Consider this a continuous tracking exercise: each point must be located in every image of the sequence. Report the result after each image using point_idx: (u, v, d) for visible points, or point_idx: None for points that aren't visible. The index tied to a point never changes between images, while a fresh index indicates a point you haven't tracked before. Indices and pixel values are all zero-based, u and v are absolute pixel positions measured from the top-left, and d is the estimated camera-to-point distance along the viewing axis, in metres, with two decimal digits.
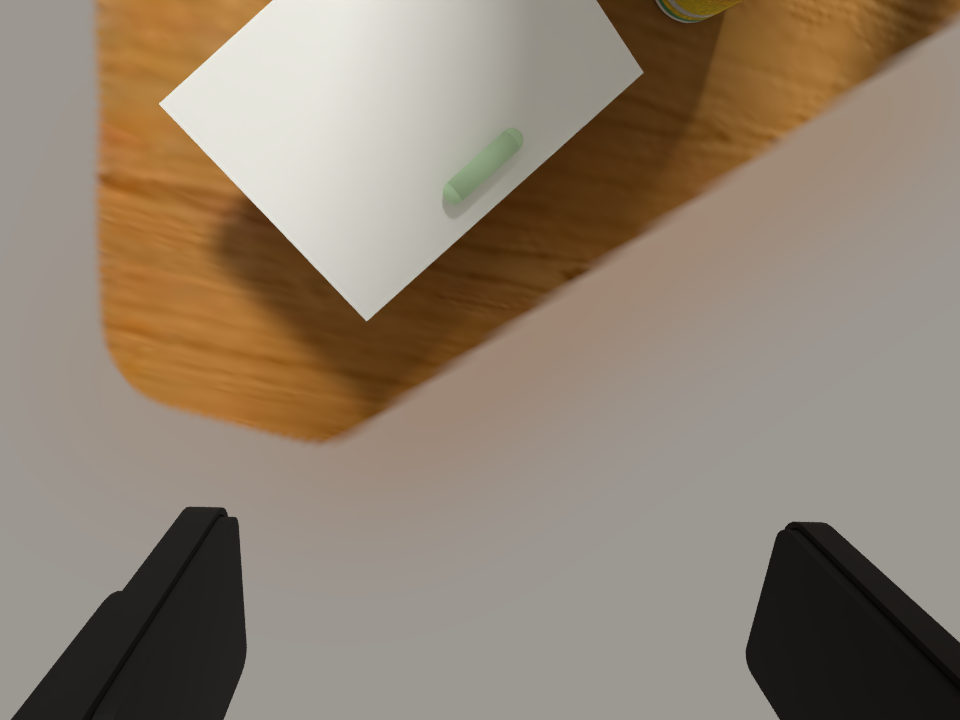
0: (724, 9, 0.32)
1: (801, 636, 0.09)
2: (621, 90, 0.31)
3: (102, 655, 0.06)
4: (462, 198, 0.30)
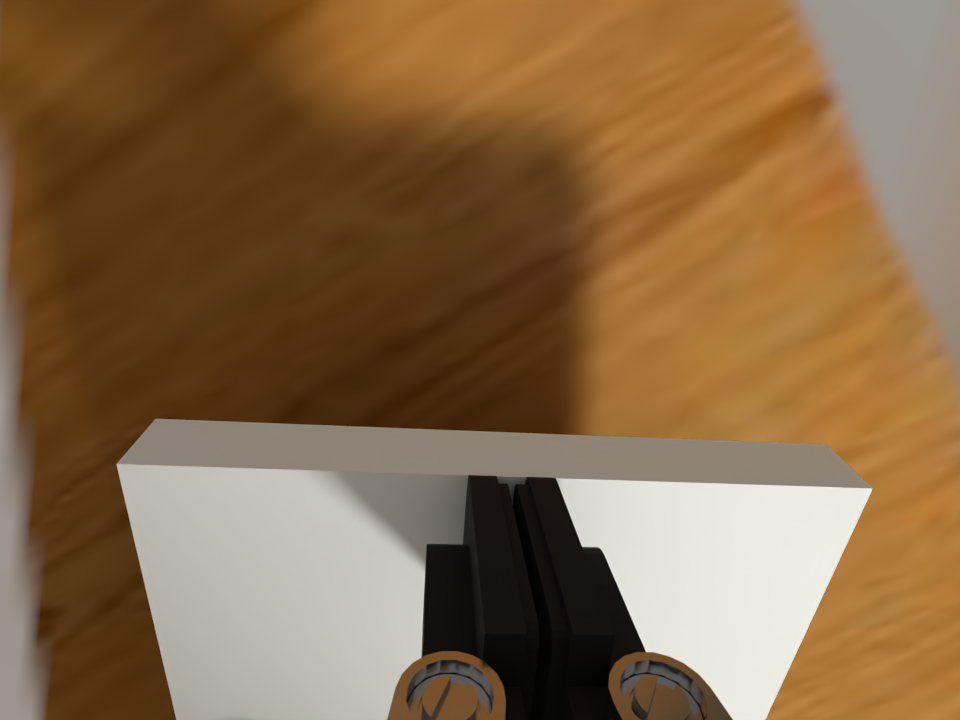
0: None
1: None
2: None
3: (503, 581, 0.08)
4: None
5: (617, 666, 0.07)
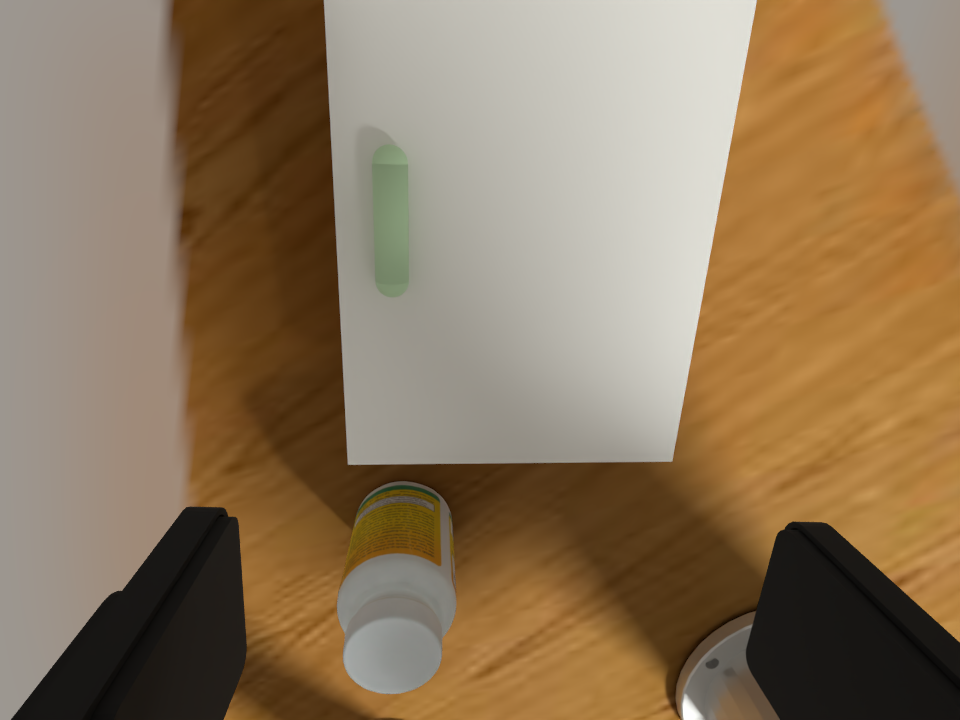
0: (351, 540, 0.29)
1: (801, 636, 0.09)
2: (348, 432, 0.23)
3: (102, 655, 0.06)
4: (374, 165, 0.19)
5: None
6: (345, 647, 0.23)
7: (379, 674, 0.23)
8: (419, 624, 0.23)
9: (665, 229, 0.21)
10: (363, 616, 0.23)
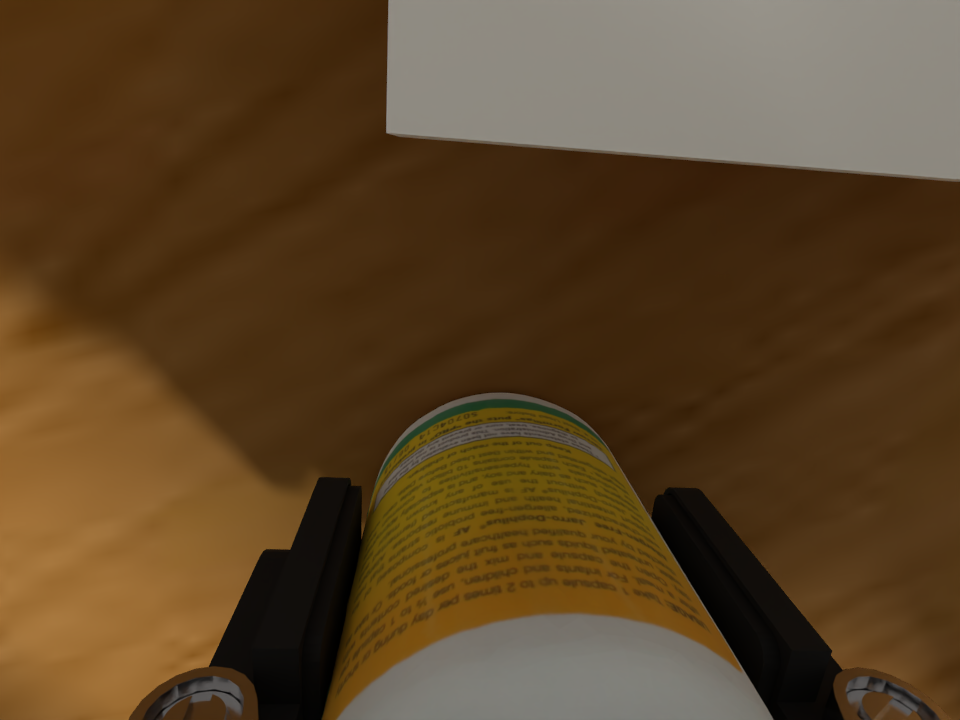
0: (363, 547, 0.09)
1: None
2: None
3: (299, 590, 0.07)
4: None
5: (838, 682, 0.07)
6: None
7: None
8: None
9: None
10: None
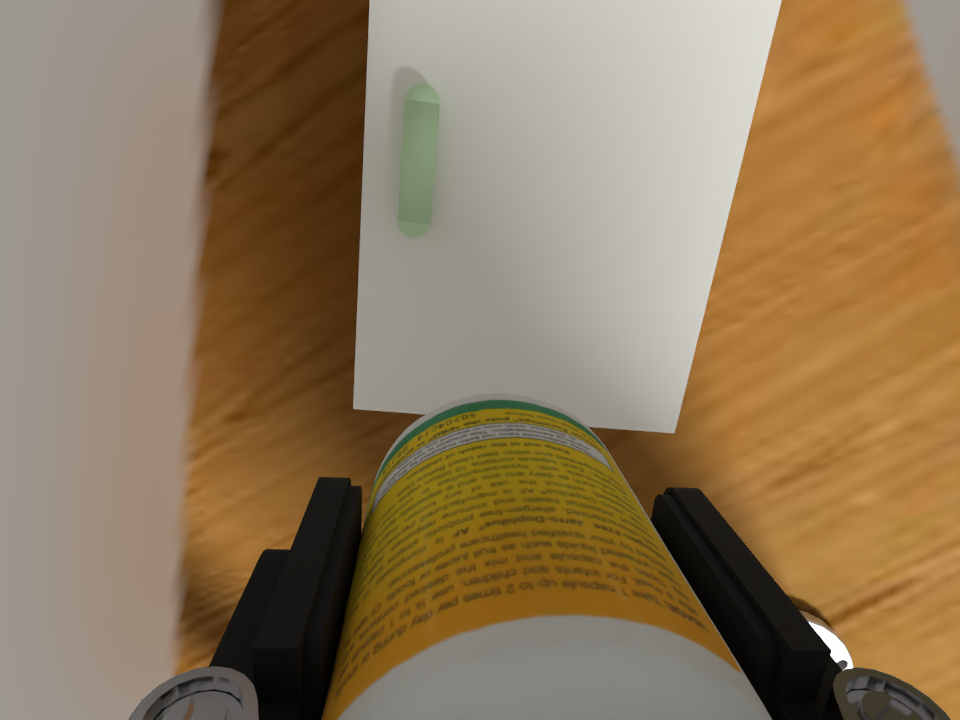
0: (362, 548, 0.09)
1: None
2: (356, 375, 0.23)
3: (299, 590, 0.07)
4: (407, 102, 0.19)
5: (838, 682, 0.07)
6: None
7: None
8: None
9: (684, 194, 0.22)
10: None
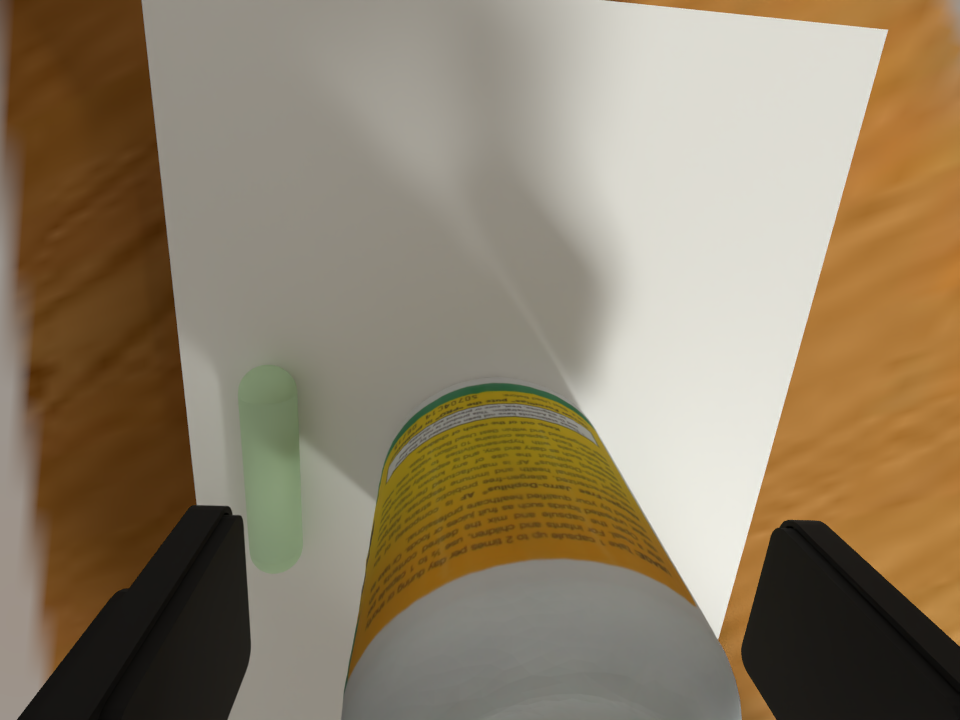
0: (379, 512, 0.10)
1: (796, 633, 0.09)
2: None
3: (110, 651, 0.06)
4: (239, 401, 0.12)
5: None
6: None
7: None
8: None
9: (691, 473, 0.14)
10: None
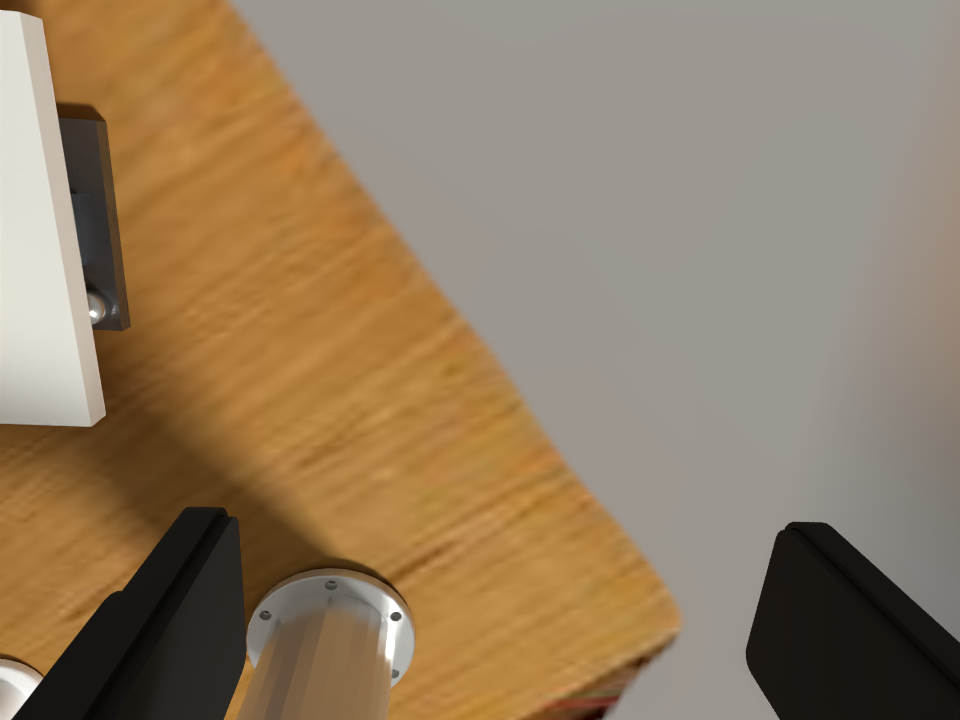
0: None
1: (801, 636, 0.09)
2: None
3: (102, 655, 0.06)
4: None
5: None
6: None
7: None
8: None
9: (18, 241, 0.28)
10: None
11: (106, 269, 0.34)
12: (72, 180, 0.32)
